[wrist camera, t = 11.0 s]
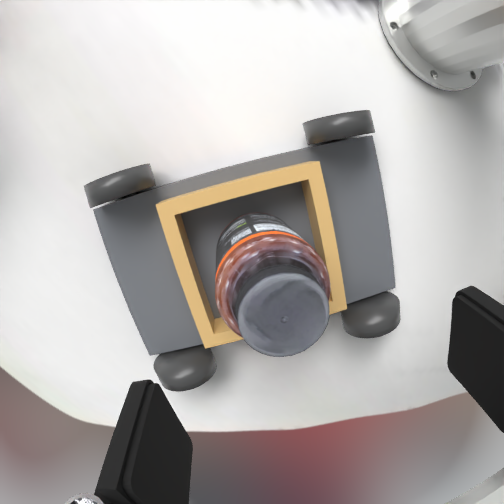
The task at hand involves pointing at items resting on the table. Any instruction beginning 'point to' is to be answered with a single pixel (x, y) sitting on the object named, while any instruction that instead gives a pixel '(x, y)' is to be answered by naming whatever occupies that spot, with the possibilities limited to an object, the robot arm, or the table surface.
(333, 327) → the table surface
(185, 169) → the table surface
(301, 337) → the supplement bottle
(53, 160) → the table surface
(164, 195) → the chassis
